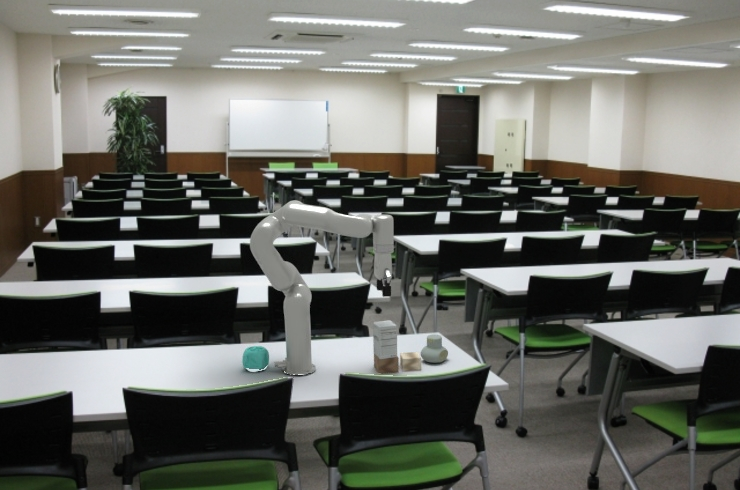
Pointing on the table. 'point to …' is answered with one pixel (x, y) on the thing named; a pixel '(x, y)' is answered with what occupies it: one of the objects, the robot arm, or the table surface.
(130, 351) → the table surface
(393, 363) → the walnut block
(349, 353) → the table surface
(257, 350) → the teal rounded cube
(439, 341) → the air freshener
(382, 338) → the supplement box
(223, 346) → the table surface
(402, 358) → the maple block
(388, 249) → the robot arm
